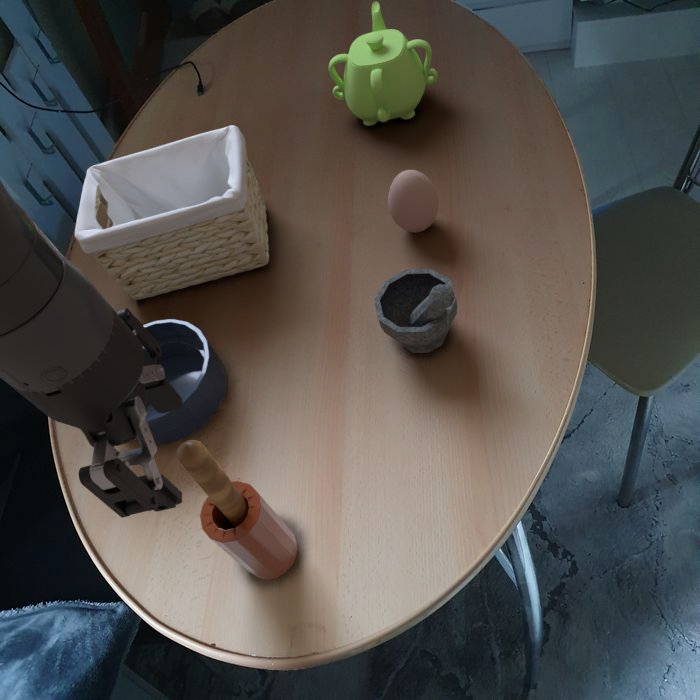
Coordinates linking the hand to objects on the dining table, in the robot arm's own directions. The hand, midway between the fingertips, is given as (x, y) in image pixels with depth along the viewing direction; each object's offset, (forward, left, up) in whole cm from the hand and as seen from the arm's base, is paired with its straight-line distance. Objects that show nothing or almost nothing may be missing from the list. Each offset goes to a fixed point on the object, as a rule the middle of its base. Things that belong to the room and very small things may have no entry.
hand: (171, 452), depth 54 cm
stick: (0, 0, -24) cm, 24 cm away
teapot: (+76, +13, -25) cm, 81 cm away
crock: (0, 0, -24) cm, 24 cm away
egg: (+49, -1, -25) cm, 55 cm away
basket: (+39, +31, -25) cm, 56 cm away
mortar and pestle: (+31, -8, -25) cm, 40 cm away
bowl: (+15, +22, -24) cm, 36 cm away
